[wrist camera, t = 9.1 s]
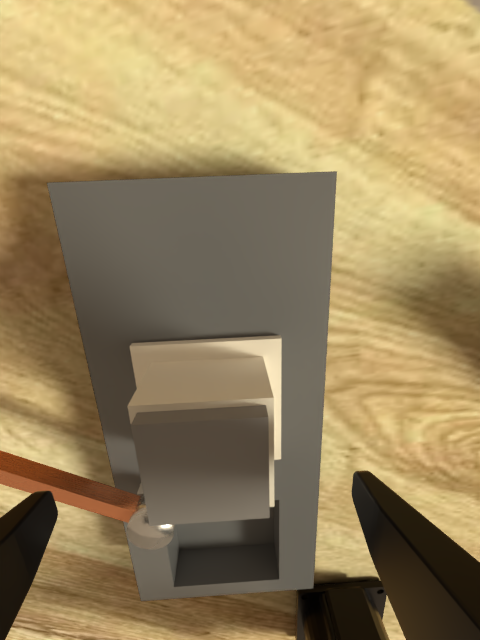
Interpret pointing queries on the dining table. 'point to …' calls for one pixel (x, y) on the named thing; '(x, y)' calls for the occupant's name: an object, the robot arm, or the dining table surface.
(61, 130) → the dining table surface
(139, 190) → the grey socket base
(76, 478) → the copper link
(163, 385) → the plug
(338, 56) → the dining table surface
